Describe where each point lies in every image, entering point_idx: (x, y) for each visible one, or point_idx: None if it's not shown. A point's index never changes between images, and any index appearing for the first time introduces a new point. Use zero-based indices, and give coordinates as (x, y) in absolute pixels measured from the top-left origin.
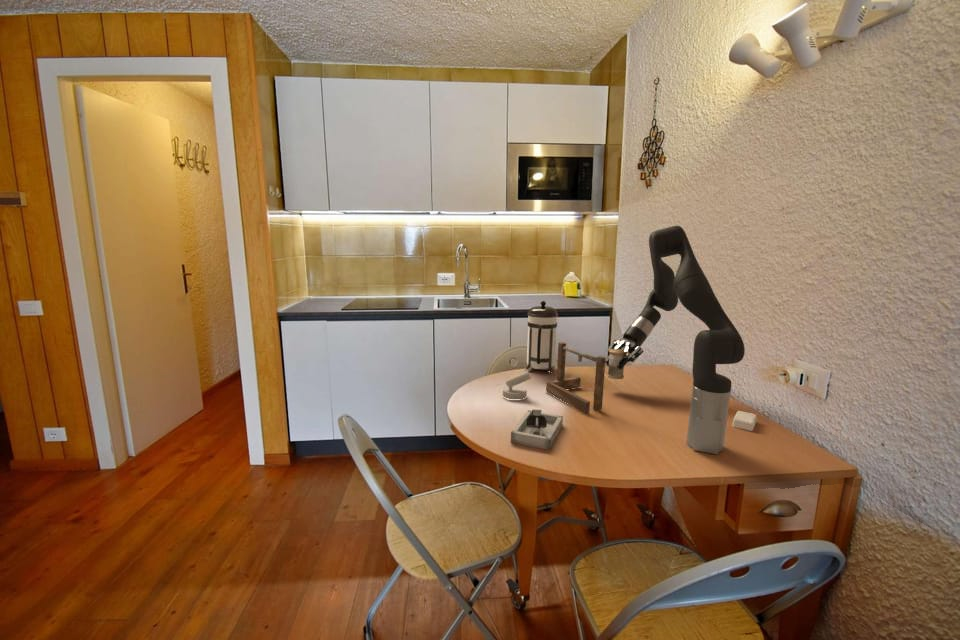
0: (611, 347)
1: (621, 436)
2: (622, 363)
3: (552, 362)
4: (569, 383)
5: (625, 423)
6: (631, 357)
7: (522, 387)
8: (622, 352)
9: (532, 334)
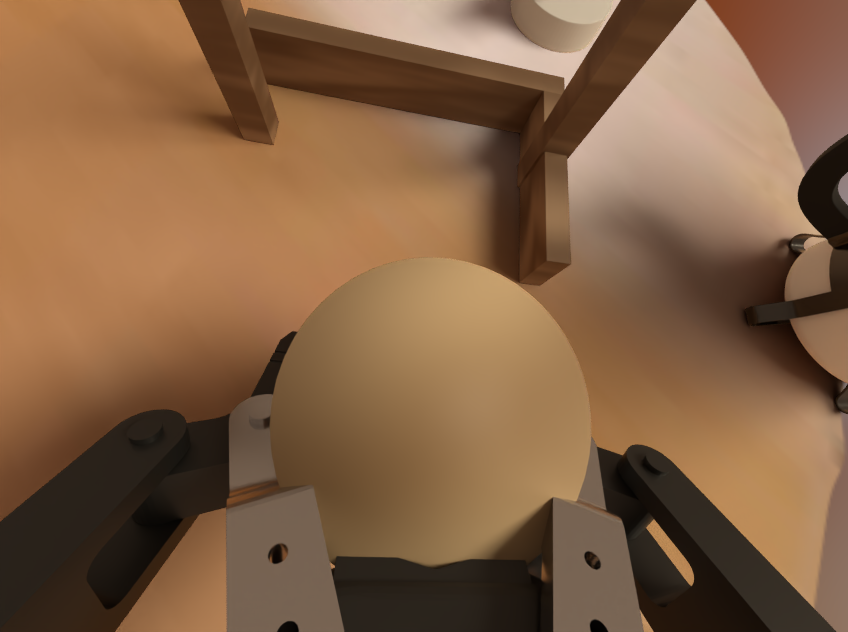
0: (693, 534)
1: (16, 3)
2: (276, 357)
3: (835, 327)
4: (534, 198)
5: (75, 109)
6: (105, 448)
7: (577, 18)
8: (285, 384)
9: None
